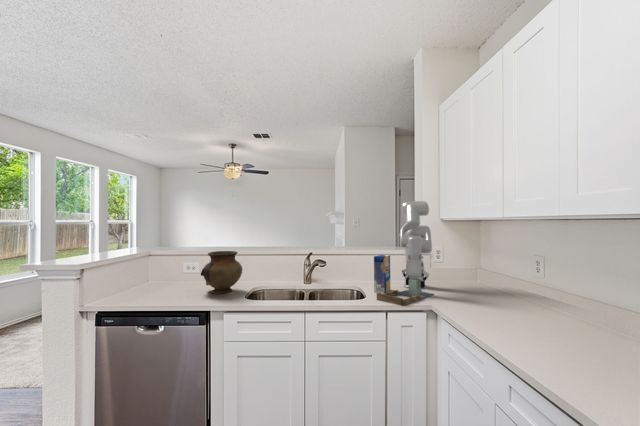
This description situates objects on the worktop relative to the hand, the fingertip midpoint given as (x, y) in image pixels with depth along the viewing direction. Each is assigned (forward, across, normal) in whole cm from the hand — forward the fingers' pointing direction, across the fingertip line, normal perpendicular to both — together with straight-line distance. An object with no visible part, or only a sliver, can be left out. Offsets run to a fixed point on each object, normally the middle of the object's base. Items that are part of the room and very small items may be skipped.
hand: (415, 286), depth 181 cm
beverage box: (+5, +18, +7) cm, 20 cm away
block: (+4, 0, 0) cm, 4 cm away
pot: (+5, +85, +82) cm, 118 cm away
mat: (+5, 0, 0) cm, 5 cm away
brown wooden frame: (+5, 0, +17) cm, 18 cm away
